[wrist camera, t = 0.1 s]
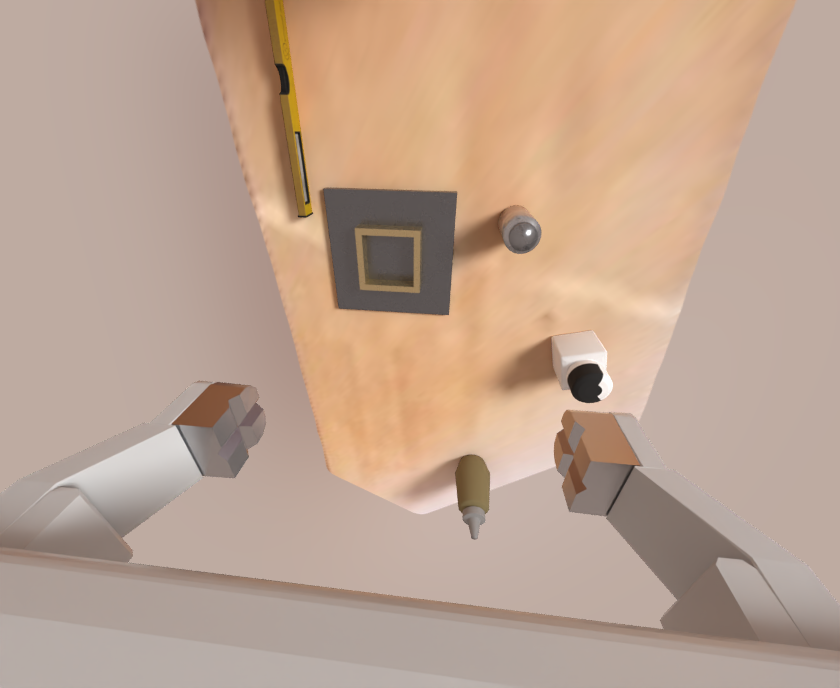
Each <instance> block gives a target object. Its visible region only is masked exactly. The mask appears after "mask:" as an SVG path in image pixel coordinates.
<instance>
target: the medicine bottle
mask: <svg viewBox="0 0 840 688" xmlns="http://www.w3.org/2000/svg"><path fill="white" fill-rule="evenodd" d="M551 341H552V359H553V368H554V371H555V373H556V376H557V378H558V381H559V384H560V386H561V389H562V390H569V389H570V390H571V393H572V395H573V396H574V398H575V399H577V400H578V401H581V402H585V403H594V402H598V401H601V400H603V399H604V398H606V397H607V396H608V395H609V394H610V392H611V391H612V388H613V383H612V380H611V378H610V377H609V375H608V373H607V372H606V366H607V351H606V349H605V348H604V346H603V345H602V343H601V342H600V340H599V339H598V337H597V336H596V334H595V333H594V331H592V330H590V331H584V332H577V333H570V334H563V335H557V336H552V337H551Z"/></svg>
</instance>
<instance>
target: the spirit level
mask: <svg viewBox="0 0 840 688" xmlns="http://www.w3.org/2000/svg"><path fill="white" fill-rule="evenodd" d="M265 5H266V12H267V18H268V24H269V30H270V37H271V43H272V49H273V56H274V62H275V65H276V67H277V69H278V71H279V75H280V80H281V92H280V99H281V106H282V112H283V118H284V125H285V131H286V137H287V143H288V150H289V156H290V162H291V169H292V175H293V181H294V187H295V194H296V200H297V206H298V212H299V215H298V217H305V218H306V217H308V216H310V215H312V214H313V212H312V208H311V200H310V193H309V186H308V179H307V172H306V164H305V157H304V150H303V143H302V136H301V128H300V121H299V114H298V107H297V100H296V92H295V85H294V78H293V71H292V64H291V56H290V49H289V42H288V35H287V28H286V20H285V13H284V6H283V0H265Z"/></svg>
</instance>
